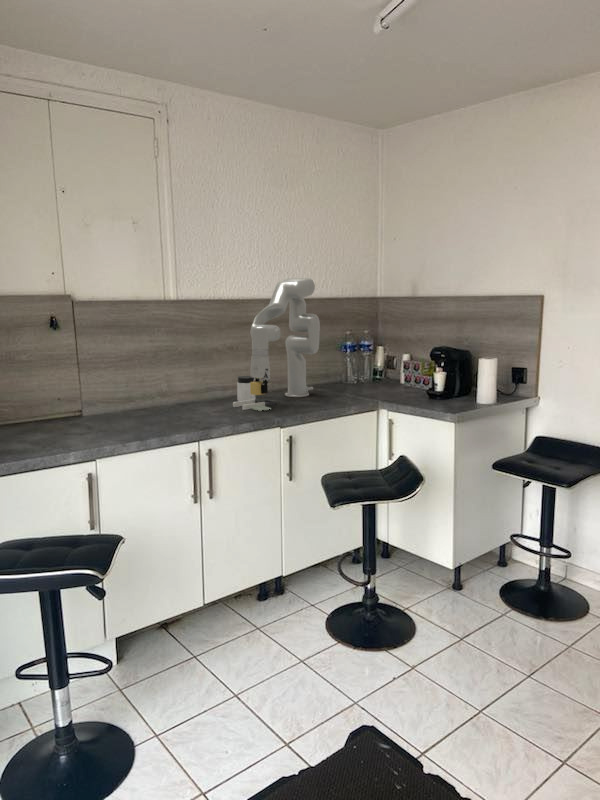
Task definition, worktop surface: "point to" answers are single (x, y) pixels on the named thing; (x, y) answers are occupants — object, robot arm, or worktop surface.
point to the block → (255, 388)
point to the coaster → (261, 408)
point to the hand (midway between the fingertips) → (260, 392)
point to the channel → (248, 404)
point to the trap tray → (267, 402)
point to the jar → (244, 388)
